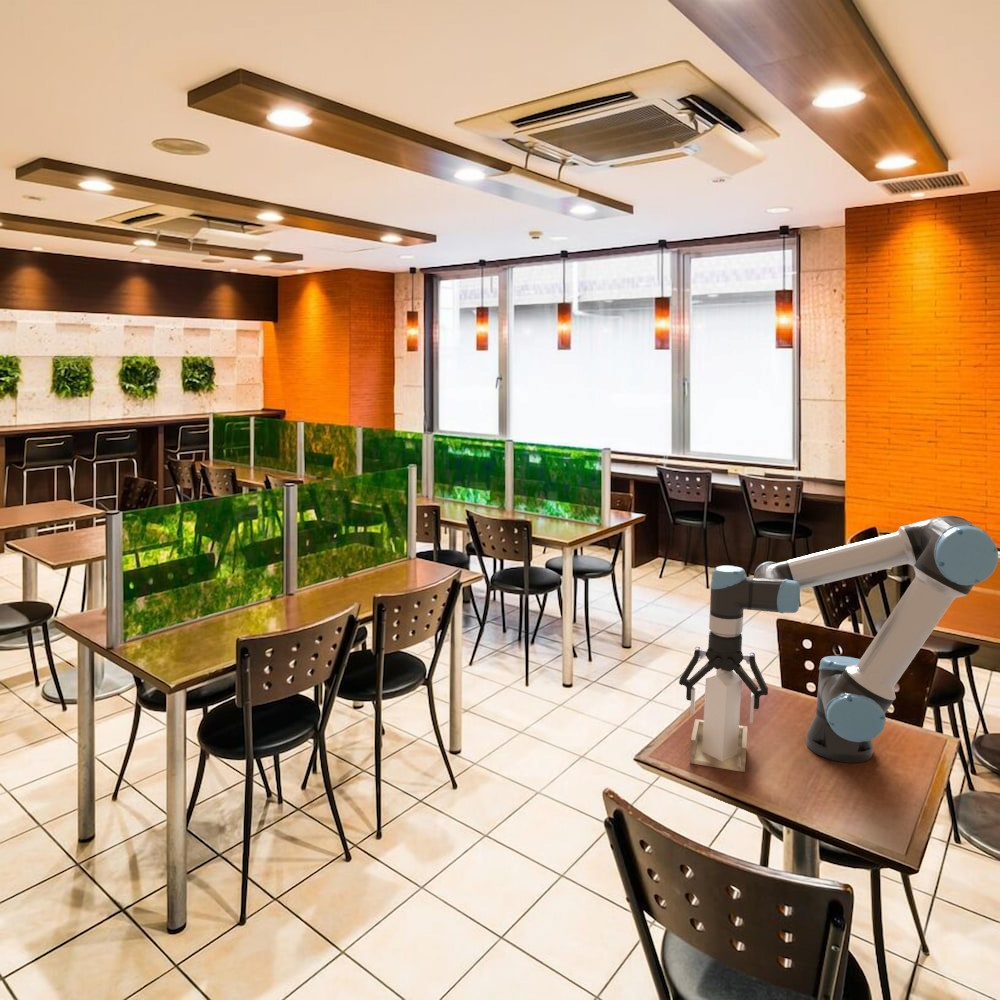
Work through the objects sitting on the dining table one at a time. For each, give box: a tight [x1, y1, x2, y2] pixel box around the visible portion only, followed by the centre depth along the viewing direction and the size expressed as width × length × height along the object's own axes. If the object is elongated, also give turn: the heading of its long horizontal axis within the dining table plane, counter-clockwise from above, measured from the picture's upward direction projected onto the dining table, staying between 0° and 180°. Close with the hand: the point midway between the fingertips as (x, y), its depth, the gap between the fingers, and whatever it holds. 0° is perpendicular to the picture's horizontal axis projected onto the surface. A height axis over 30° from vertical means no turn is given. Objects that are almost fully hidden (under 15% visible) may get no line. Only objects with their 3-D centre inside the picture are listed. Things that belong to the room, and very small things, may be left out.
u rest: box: [689, 718, 748, 773], centre depth 187 cm, size 12×12×6 cm
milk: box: [702, 668, 743, 761], centre depth 185 cm, size 6×6×22 cm
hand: (721, 716), depth 186 cm, fingers open, 13 cm apart
